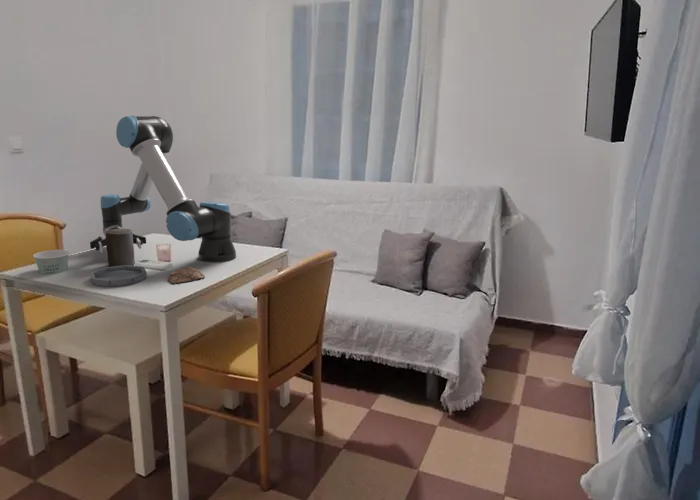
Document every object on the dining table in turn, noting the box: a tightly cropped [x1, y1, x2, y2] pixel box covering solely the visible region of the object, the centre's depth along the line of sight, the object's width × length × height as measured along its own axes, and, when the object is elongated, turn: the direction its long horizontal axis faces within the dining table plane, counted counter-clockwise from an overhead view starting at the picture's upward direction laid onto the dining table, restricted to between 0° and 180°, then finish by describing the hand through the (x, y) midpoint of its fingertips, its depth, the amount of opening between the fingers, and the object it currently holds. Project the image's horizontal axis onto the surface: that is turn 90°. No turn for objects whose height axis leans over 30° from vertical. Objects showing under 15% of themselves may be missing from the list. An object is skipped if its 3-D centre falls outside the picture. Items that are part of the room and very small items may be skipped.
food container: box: [32, 249, 71, 275], centre depth 192 cm, size 12×12×7 cm
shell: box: [166, 266, 205, 285], centre depth 186 cm, size 12×13×4 cm
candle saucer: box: [90, 265, 148, 288], centre depth 184 cm, size 18×18×2 cm
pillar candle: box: [104, 228, 136, 267], centre depth 199 cm, size 10×10×15 cm
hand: (120, 247), depth 196 cm, fingers open, 13 cm apart
